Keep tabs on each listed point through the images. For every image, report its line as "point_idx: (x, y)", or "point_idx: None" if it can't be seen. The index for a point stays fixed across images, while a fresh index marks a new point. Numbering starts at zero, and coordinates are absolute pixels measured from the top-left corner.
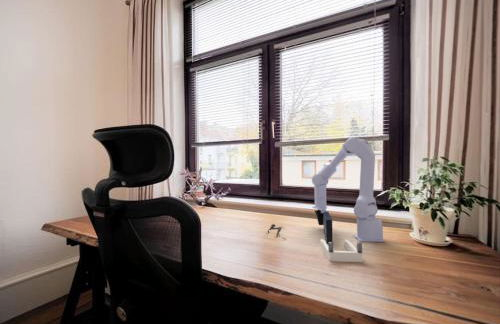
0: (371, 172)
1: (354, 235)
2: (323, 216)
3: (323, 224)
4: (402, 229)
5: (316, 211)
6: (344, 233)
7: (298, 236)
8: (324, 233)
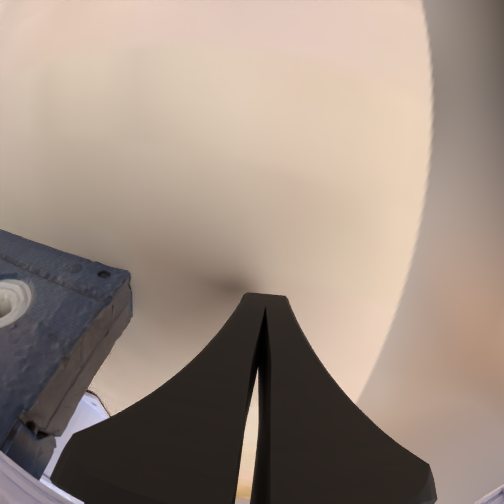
0: None
1: (84, 394)
2: (2, 392)
3: (86, 323)
4: (245, 497)
5: (77, 498)
6: (133, 387)
7: (16, 38)
8: (23, 250)
